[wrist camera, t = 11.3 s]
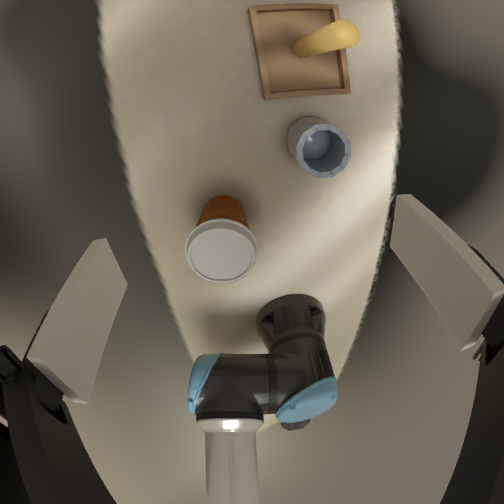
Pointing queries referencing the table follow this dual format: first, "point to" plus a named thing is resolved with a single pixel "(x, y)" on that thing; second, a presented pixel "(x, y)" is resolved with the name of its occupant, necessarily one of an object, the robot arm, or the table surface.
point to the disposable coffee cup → (221, 242)
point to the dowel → (327, 39)
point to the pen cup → (318, 146)
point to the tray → (282, 58)
